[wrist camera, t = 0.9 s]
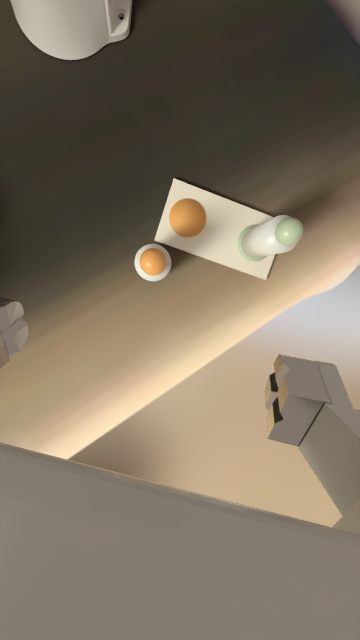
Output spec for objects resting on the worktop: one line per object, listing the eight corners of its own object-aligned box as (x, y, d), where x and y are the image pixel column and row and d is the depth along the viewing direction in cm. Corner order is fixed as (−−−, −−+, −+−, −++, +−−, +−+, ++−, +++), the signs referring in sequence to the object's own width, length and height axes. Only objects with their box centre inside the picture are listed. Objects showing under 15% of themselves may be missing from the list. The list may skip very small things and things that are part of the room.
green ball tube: (247, 224, 46) (284, 202, 33) (273, 234, 47) (320, 216, 34) (237, 252, 47) (270, 242, 34) (263, 261, 48) (305, 255, 34)
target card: (173, 180, 45) (174, 177, 44) (284, 223, 48) (287, 222, 47) (154, 240, 46) (154, 239, 45) (264, 279, 49) (266, 279, 48)
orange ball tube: (143, 247, 46) (139, 234, 33) (171, 256, 47) (178, 248, 34) (134, 275, 47) (127, 273, 34) (162, 284, 48) (165, 286, 34)
